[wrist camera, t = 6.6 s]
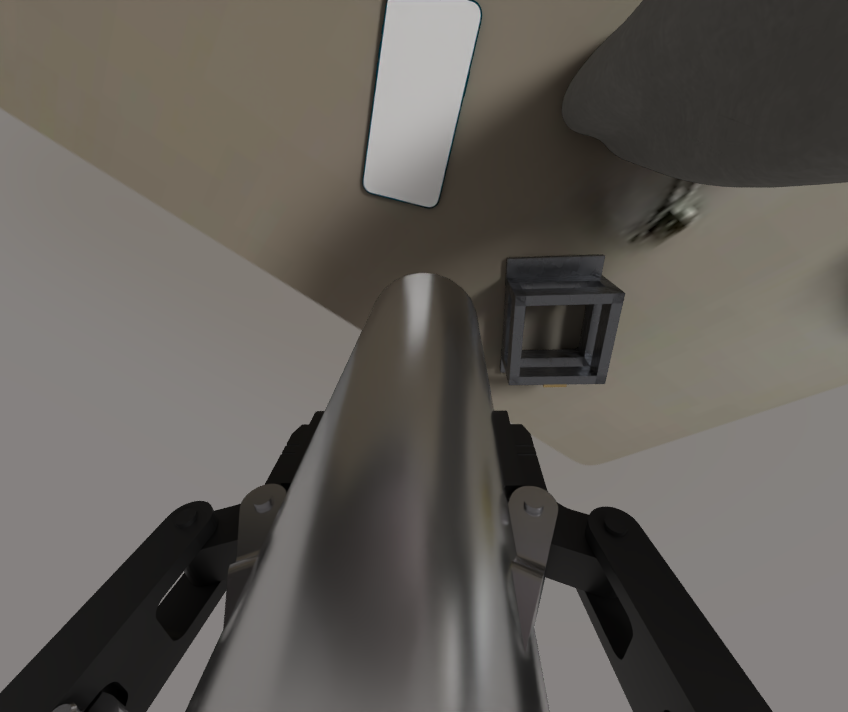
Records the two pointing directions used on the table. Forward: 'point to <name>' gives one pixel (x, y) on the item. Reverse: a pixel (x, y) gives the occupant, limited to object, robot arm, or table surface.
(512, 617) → the silver metal cylinder
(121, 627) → the robot arm
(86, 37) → the table surface
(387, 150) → the smartphone
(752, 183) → the vase
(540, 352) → the collar bracket
